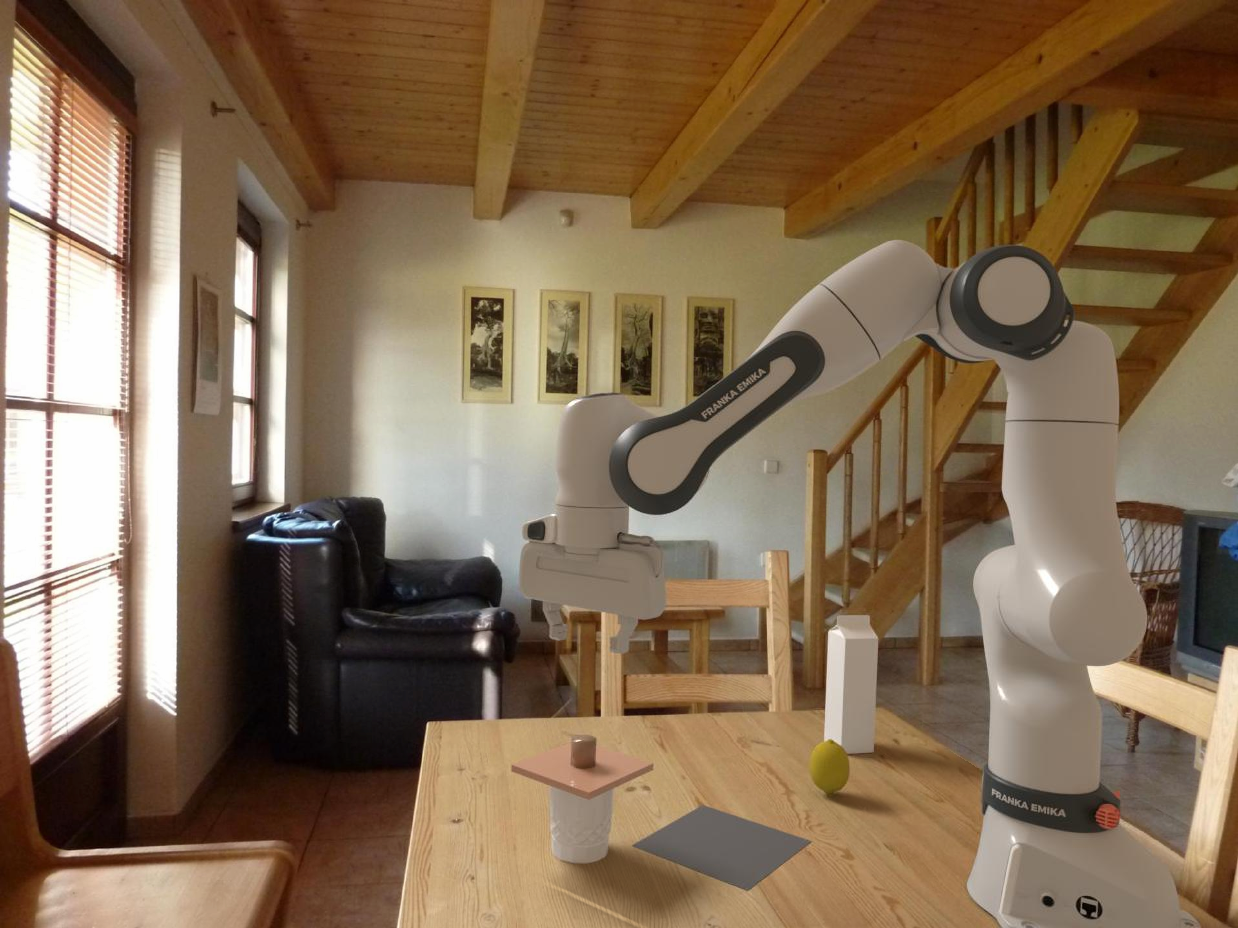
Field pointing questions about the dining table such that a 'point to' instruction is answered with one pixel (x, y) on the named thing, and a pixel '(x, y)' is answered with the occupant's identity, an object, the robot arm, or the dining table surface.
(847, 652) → the milk
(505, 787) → the dining table surface
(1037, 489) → the robot arm
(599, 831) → the white cup
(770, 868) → the mat
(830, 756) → the lemon
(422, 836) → the dining table surface
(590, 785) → the lid
